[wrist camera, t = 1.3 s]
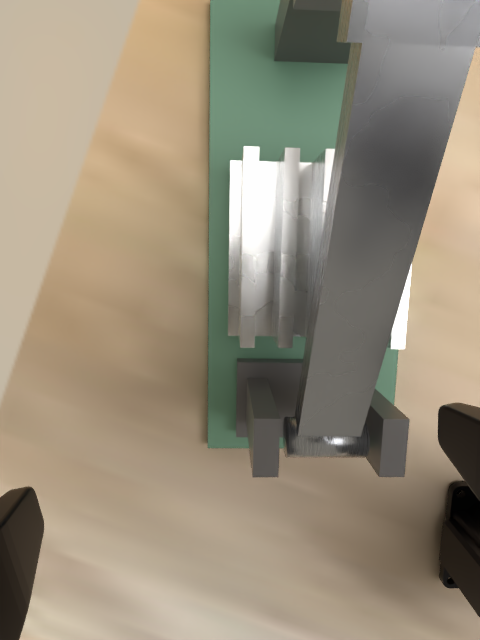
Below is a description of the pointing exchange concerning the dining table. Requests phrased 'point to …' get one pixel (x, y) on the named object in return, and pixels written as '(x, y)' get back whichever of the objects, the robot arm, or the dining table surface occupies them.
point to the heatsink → (280, 247)
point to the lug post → (309, 32)
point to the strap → (376, 204)
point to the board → (271, 137)
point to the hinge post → (280, 401)
